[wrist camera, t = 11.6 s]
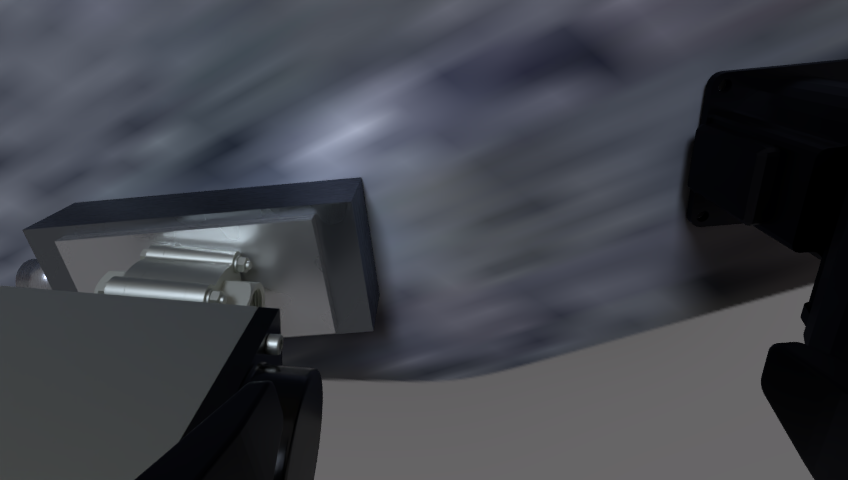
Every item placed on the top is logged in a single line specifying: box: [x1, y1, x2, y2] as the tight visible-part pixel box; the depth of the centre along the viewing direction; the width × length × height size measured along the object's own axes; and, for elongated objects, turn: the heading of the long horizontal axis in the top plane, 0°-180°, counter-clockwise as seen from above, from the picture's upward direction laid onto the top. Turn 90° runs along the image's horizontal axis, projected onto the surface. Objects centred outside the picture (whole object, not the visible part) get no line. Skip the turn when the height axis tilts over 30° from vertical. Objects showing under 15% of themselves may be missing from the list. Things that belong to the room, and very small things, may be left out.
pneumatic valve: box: [0, 244, 323, 480], centre depth 13 cm, size 6×12×12 cm, turn 85°
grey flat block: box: [16, 178, 380, 338], centre depth 20 cm, size 15×6×4 cm, turn 95°
